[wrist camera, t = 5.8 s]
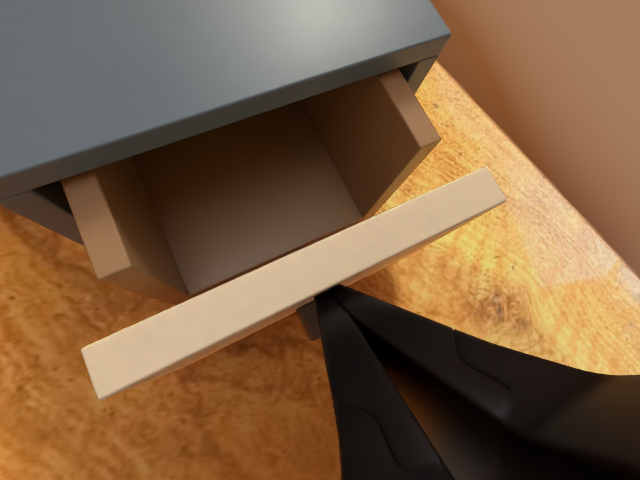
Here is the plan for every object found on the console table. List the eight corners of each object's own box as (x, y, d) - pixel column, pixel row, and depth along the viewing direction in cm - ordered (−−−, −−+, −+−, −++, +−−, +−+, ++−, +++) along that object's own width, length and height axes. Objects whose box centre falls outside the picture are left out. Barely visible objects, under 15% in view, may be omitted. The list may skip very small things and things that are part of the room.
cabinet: (364, 176, 19) (453, 33, 10) (135, 271, 16) (-37, 189, 7) (256, -20, 22) (249, -278, 13) (40, 29, 19) (-178, -264, 10)
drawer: (417, 278, 17) (532, 236, 10) (194, 394, 14) (117, 459, 7) (290, 47, 20) (305, -127, 12) (80, 108, 17) (-67, -70, 9)
